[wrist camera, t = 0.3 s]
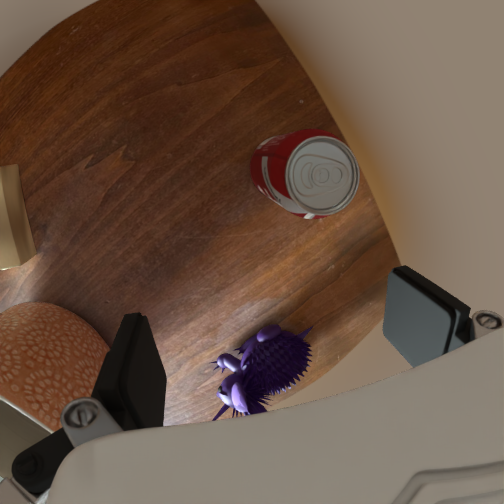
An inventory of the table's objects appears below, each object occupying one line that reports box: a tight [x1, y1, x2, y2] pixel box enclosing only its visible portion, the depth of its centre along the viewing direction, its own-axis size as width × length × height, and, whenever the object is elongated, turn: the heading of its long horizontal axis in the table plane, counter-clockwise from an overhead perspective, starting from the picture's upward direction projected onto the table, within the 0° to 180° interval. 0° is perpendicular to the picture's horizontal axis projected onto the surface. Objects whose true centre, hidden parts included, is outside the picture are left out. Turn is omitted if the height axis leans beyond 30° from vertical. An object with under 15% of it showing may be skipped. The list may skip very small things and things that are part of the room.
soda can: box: [250, 129, 360, 219], centre depth 25 cm, size 7×7×12 cm
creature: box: [211, 324, 313, 421], centre depth 32 cm, size 9×18×12 cm, turn 127°
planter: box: [0, 302, 110, 479], centre depth 24 cm, size 21×21×19 cm
